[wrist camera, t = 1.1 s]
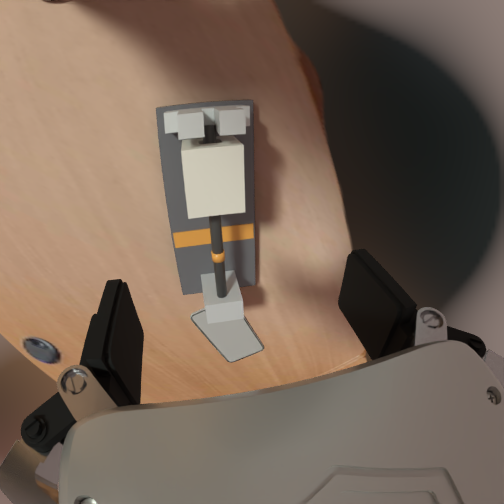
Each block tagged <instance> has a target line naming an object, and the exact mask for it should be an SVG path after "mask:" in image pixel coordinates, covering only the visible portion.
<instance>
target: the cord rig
mask: <svg viewBox="0 0 504 504" xmlns="http://www.w3.org/2000/svg"><path fill="white" fill-rule="evenodd" d="M156 115H157V127H158V138H159V147H160V156H161V165H162V173H163V181H164V189H165V196H166V203H167V209H168V216H169V222H170V228H171V234H172V240H173V246H174V251H175V257H176V262H177V267H178V272H179V277H180V282H181V287H182V292H183V295H187V294H195V293H202V292H203V297H204V304H205V311H206V317H207V322H208V324H210V323H217V322H224V321H231V320H237V319H244V312H243V299H242V295H241V292H240V288H239V287H245V286H252V285H255V204H254V126H253V100H230V101H213V102H201V103H190V104H181V105H173V106H165V107H158V108H156ZM230 135H233V136H234V137H235V138H236V139H238V140H239V141H240V142H241V143H242V144H243V145H244V179H245V212H243V213H234V214H225V215H216V216H208V217H200V218H192V219H188V212H187V203H186V195H185V186H184V176H183V166H182V156H181V146H182V140H186V139H196V138H203V144H209V143H216V137H217V136H230Z"/></svg>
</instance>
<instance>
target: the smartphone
mask: <svg viewBox="0 0 504 504" xmlns="http://www.w3.org/2000/svg"><path fill="white" fill-rule="evenodd" d="M190 318H191V320H192V322H193V323H194V324H195V325H196V326H197V328H198V329H199V330H200V331H201V332H202V333H203V334H204V336H205V337H206V338H207V339H208V340H209V341H210V343H211V344H212V345H213V346H214V347H215V348H216V349H217V350H218V352H219V353H220V354H221V355H222V356H223V357H224V358H225V359H226V360H227V361H228V362H235V361H238V360H240V359H243V358H245V357H248V356H250V355H253V354H255V353H258V352H260V351H262V350H263V349H264V346H263V344H262V343H261V341H260V340H259V338H258V336H257V335H256V333H255V332H254V330H253V329H252V327H251V326H250V324H249V323H248V321H247V320H246V318H245V316H244V319H237V320H231V321H224V322H217V323H210V324H208V322H207V317H206V311H205V308H203V309H201V310H198V311H196V312H194V313H192V314H191V316H190Z"/></svg>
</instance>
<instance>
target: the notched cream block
mask: <svg viewBox="0 0 504 504" xmlns="http://www.w3.org/2000/svg"><path fill="white" fill-rule="evenodd" d="M181 156H182V166H183V176H184V186H185V195H186V203H187V212H188V219H192V218H200V217H208V216H216V215H225V214H234V213H243V212H245V179H244V145H243V144H242V143H241V142H240V141H239V140H238V139H236V138H235V137H234V136H233V135H230V136H217V137H216V143H209V144H203V138H196V139H186V140H182V146H181Z"/></svg>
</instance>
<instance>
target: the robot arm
mask: <svg viewBox="0 0 504 504" xmlns="http://www.w3.org/2000/svg"><path fill="white" fill-rule="evenodd" d="M47 1H49V0H47ZM338 305H339V308H340V310H341V311H342V313H343V314H344V316H345V317H346V319H347V321H348V322H349V324H350V325H351V327H352V328H353V330H354V332H355V333H356V335H357V336H358V338H359V340H360V341H361V343H362V344H363V346H364V348H365V349H366V351H367V353H368V354H369V356H370V357H371V359H372V361H370V362H366V363H363V364H360V365H357V366H354V367H350V368H347V369H343V370H340V371H336V372H333V373H329V374H326V375H322V376H318V377H314V378H310V379H306V380H302V381H298V382H293V383H289V384H285V385H280V386H275V387H270V388H265V389H260V390H255V391H249V392H243V393H237V394H231V395H224V396H217V397H210V398H201V399H193V400H183V401H174V402H163V403H149V404H140V398H141V371H142V355H143V341H144V333H143V329H142V326H141V323H140V321H139V318H138V315H137V312H136V309H135V306H134V304H133V301H132V298H131V295H130V291H129V288H128V285H127V283H126V282H122V280H121V279H117V280H108V281H107V283H106V286H105V289H104V292H103V295H102V298H101V302H100V305H99V309H98V312H97V314H94V315H93V316H92V318H91V321H90V325H89V329H88V332H87V336H86V340H85V344H84V348H83V352H82V356H81V360H80V365H73V366H70V367H68V368H66V369H65V370H64V371H63V372H62V373H61V374H60V376H59V377H58V381H57V388H58V391H59V392H57V393H56V394H55V395H54V396H52V397H51V398H50V399H49V400H47V401H46V402H45V403H44V404H42V405H41V406H40V407H39V408H38V409H36V410H35V411H34V412H33V413H31V414H30V415H29V416H27V418H26V419H25V420H24V421H23V423H22V427H21V436H22V439H21V440H20V441H18V440H16V442H15V444H14V445H13V447H12V448H11V450H10V451H9V453H8V455H7V456H6V458H5V460H4V461H3V463H2V464H1V466H0V489H1V491H2V492H3V493H4V494H5V495H6V496H7V498H8V499H9V500H10V501H11V502H12V503H13V504H504V358H503V357H501V356H499V355H498V354H496V353H495V352H493V351H492V350H490V349H488V351H486V347H485V344H484V342H483V341H482V340H481V339H480V338H479V337H477V336H475V335H473V334H470V333H467V332H464V331H461V330H458V329H455V328H452V327H448V326H447V322H446V319H445V317H444V315H443V314H442V313H441V312H439V311H438V310H436V309H433V308H429V307H426V308H421V309H420V310H419V311H417V310H416V306H417V304H416V303H415V302H414V301H413V300H412V299H411V298H410V296H409V295H408V294H407V293H406V292H405V291H404V290H403V289H402V287H401V286H400V285H399V284H398V283H397V282H396V281H395V280H394V279H393V278H392V277H391V276H390V275H389V274H388V272H387V271H386V270H385V269H384V268H383V267H382V266H381V265H380V264H379V263H378V262H377V261H376V260H375V259H374V258H373V257H372V256H371V255H370V254H369V253H368V252H367V251H366V250H365V249H359V250H353V251H352V252H351V254H349V255H348V257H347V263H346V268H345V272H344V277H343V282H342V286H341V291H340V295H339V300H338ZM58 481H59V489H58V488H57V484H58ZM58 490H59V491H58Z"/></svg>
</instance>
